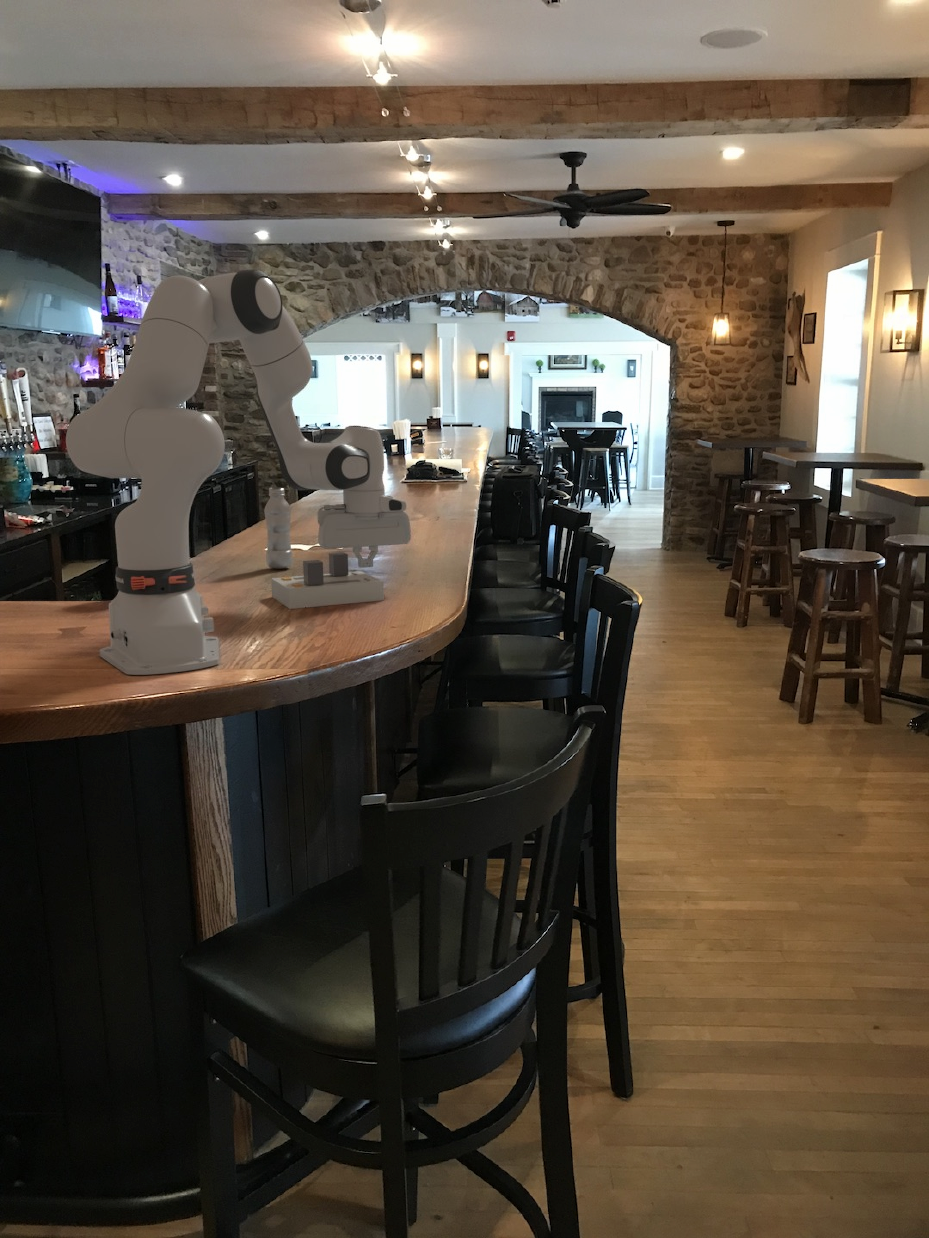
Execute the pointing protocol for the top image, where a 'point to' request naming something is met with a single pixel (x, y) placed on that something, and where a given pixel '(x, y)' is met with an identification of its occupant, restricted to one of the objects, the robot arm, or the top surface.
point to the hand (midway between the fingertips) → (365, 567)
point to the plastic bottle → (278, 530)
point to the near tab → (313, 572)
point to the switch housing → (327, 590)
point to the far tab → (338, 564)
